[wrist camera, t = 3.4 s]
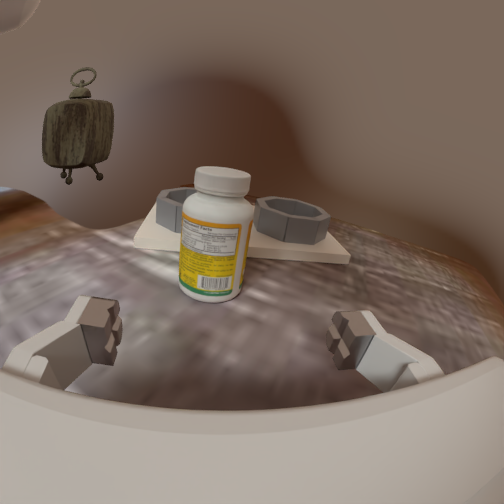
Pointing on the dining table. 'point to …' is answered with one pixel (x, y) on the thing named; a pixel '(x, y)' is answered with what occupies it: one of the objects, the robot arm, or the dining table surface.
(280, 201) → the socket board
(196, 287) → the supplement bottle
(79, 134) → the tabletop clock
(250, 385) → the dining table surface
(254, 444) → the robot arm
